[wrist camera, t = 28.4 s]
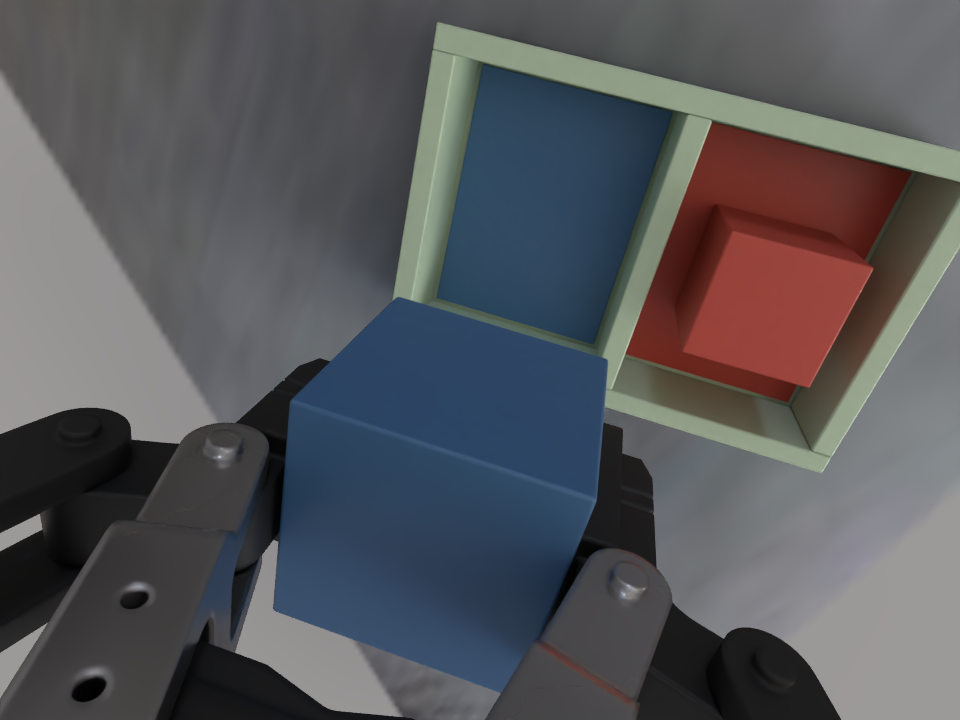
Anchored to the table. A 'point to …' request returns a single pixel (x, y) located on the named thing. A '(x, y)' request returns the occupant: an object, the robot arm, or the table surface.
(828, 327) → the red block
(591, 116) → the sorting tray
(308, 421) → the blue block
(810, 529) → the table surface
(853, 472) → the table surface
